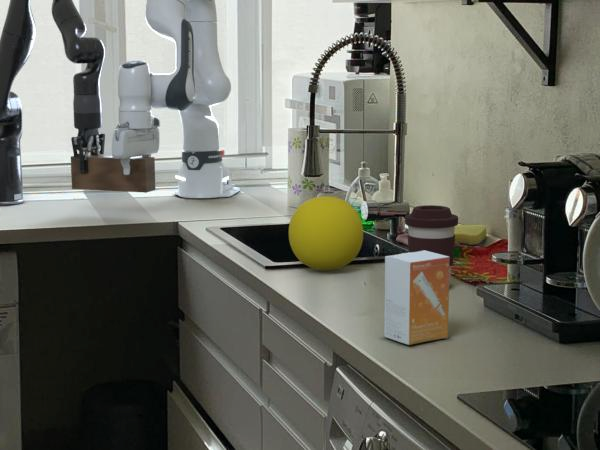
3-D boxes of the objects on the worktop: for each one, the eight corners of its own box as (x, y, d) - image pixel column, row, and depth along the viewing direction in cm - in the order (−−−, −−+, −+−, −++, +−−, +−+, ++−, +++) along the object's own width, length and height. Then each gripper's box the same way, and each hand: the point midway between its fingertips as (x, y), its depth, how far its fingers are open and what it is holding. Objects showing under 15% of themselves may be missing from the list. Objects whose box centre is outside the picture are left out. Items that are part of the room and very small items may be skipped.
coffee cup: (400, 280, 202) (400, 204, 200) (450, 279, 203) (451, 203, 201) (409, 292, 193) (410, 212, 190) (462, 291, 193) (463, 211, 191)
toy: (345, 259, 223) (344, 190, 221) (374, 273, 209) (374, 199, 207) (278, 265, 218) (278, 194, 216) (304, 279, 204) (304, 204, 202)
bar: (71, 189, 290) (70, 156, 288) (82, 186, 295) (80, 154, 293) (146, 192, 282) (145, 159, 280) (155, 190, 287) (154, 157, 285)
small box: (409, 346, 158) (409, 262, 156) (383, 337, 163) (383, 255, 161) (449, 337, 162) (450, 255, 160) (423, 329, 168) (424, 249, 166)
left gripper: (85, 112, 279) (87, 175, 282) (112, 109, 293) (115, 169, 295) (61, 112, 282) (63, 174, 285) (89, 109, 295) (91, 169, 298)
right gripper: (126, 124, 272) (127, 177, 274) (163, 120, 291) (164, 169, 293) (105, 123, 274) (106, 176, 276) (143, 119, 293) (144, 168, 295)
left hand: (89, 172), depth 290 cm, fingers closed on bar, 5 cm apart
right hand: (136, 172), depth 285 cm, fingers open, 8 cm apart
